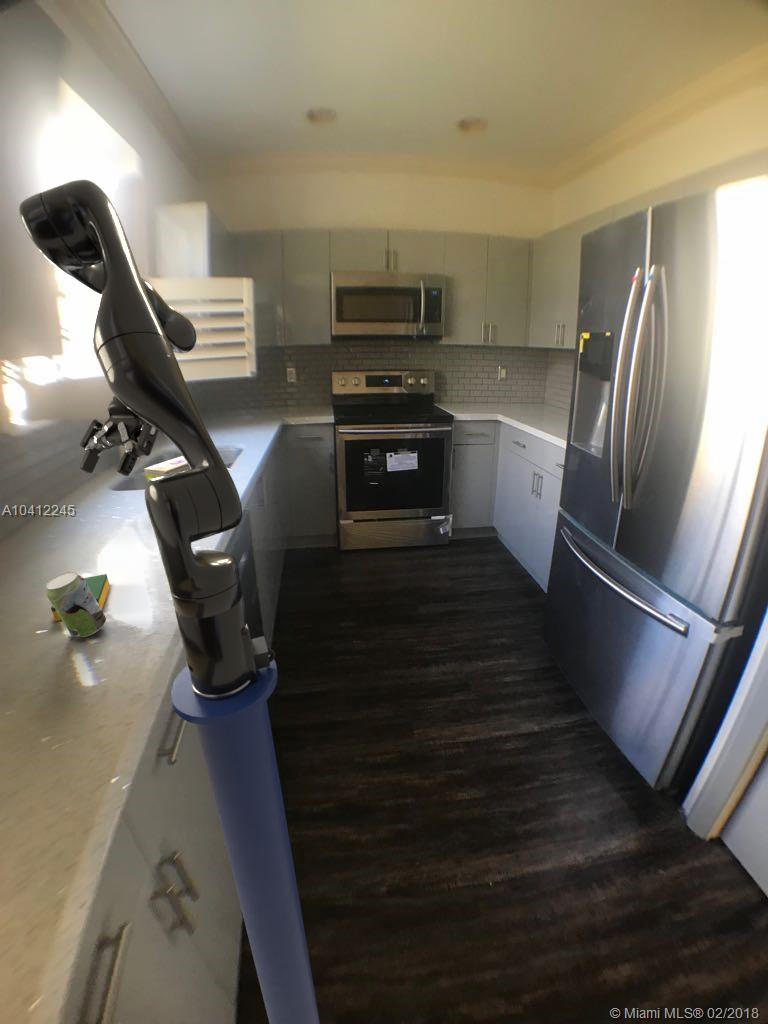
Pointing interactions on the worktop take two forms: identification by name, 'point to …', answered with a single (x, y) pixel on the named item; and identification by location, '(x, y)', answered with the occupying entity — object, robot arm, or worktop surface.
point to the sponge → (93, 591)
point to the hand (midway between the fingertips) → (103, 472)
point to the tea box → (166, 468)
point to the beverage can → (75, 604)
